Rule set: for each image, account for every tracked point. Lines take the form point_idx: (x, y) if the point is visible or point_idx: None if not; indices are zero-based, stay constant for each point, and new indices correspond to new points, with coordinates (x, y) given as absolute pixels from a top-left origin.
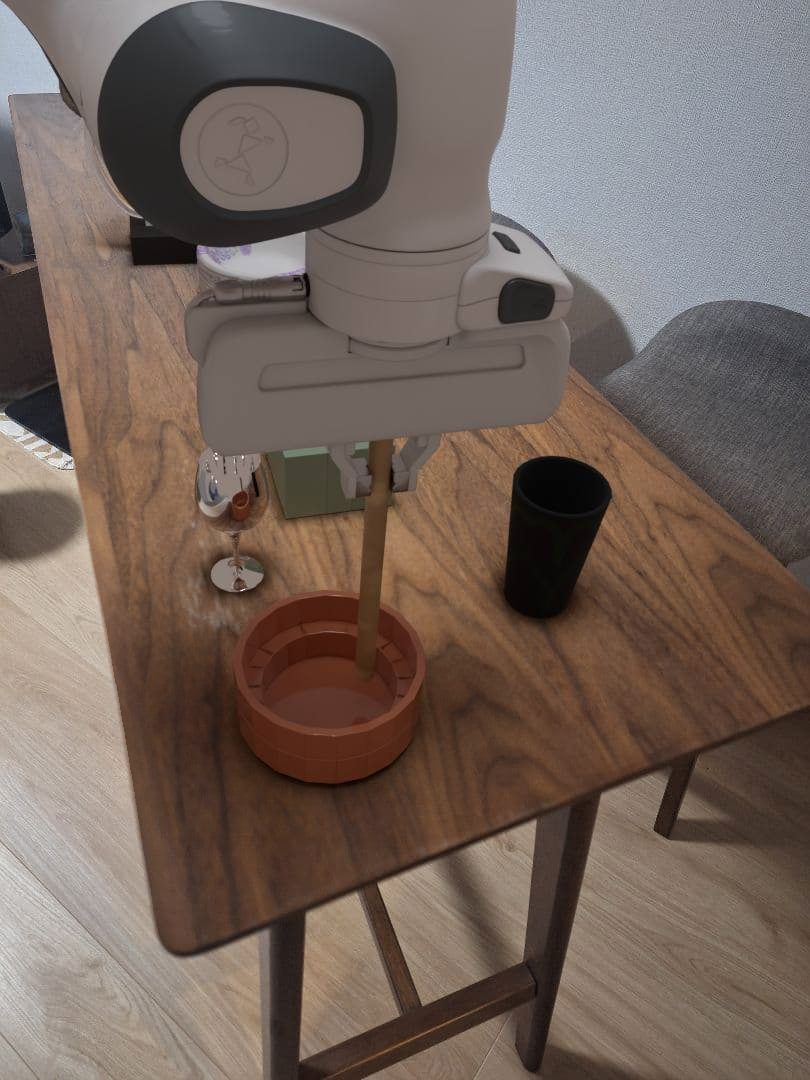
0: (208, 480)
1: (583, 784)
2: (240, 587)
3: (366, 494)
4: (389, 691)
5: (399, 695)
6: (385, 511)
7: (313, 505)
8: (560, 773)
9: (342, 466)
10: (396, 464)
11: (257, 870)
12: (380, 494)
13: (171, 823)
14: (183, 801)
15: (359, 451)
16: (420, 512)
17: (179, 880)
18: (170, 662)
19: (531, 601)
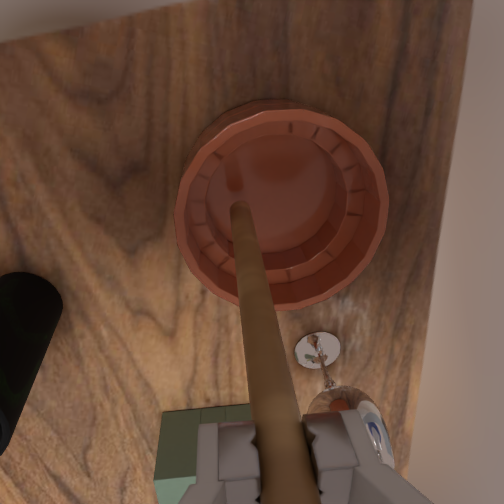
0: (387, 446)
1: (5, 43)
2: (319, 335)
3: (317, 418)
4: (207, 202)
5: (206, 178)
6: (257, 380)
7: (237, 414)
8: (32, 65)
9: (418, 502)
10: (246, 497)
11: (380, 16)
12: (279, 417)
13: (440, 91)
14: (424, 114)
15: (193, 473)
16: (134, 403)
17: (451, 23)
18: (395, 266)
19: (30, 288)
